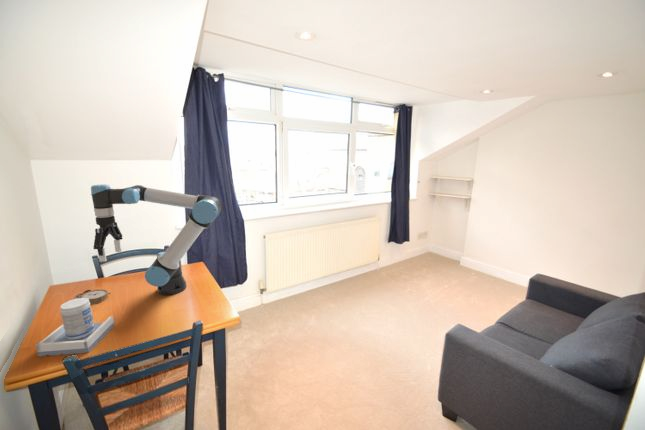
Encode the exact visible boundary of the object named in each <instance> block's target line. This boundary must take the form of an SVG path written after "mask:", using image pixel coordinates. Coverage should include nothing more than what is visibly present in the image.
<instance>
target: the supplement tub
mask: <svg viewBox="0 0 645 430" xmlns="http://www.w3.org/2000/svg"><path fill="white" fill-rule="evenodd" d="M76 298H77V297H76ZM91 305H92V304H90V302H89V299H88V298H77V299H70V300H68V301H66V302H64V303H62V304H60V307H59V308H60V314H61V315H60V316H61V319H62V324H63V325H64V330H65V335H66V338H67V339H69V340H76V339H80V338H83V337H86V336H88V335H89V334H91V333H92V332H93V331H94V329H95V328H94V323H95V322H94V318H93V317H94V316H93V312H92V306H91Z"/></svg>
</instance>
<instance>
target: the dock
mask: <svg viewBox="0 0 645 430" xmlns="http://www.w3.org/2000/svg"><path fill="white" fill-rule="evenodd" d="M114 327H115V320H114V316H113V315H110V316H109V317H108V318H107V319H106V320H104V322H94V328H95V329H94V331H93V332H92V333H91V334H89V335H88V336H86V337H83V338H80V339H76V340H69V339H67V338H66V335H65V330H64V325H63V323H62V324H61V325H60V326H59V327H57V328H55V330H53V331H52V332H51V333H49V335H47V336H45V338H43V339H42V340H41V341H40V342H38V343H37V344H36V345H35V347H36V348H35V349H36V352H37V356H39V357H47V356H46V355H50V356H51V357H52V356H61V355H60V354H63V355H73V354H74V353H75V354H84V353H85V354H87V353H90V352H91V351H92V350H93V349H94V348H95V347H96V346H97V345H98V344H99V343H100V341H102V339H103V338H105V336H107V334H108V333H109V332H110V331H111V330H112V329H113V328H114ZM75 354H74V355H75Z"/></svg>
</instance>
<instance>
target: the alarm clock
mask: <svg viewBox="0 0 645 430" xmlns="http://www.w3.org/2000/svg"><path fill="white" fill-rule="evenodd" d="M110 294H111V292H109V291H108V290H107V289H102V288H100V289H94V290H93V289H86V290H84V291H83V292H81V293H79V294H77V295H74V297H73V298H74V299H77V298H88V299H89V302H90V305H96V304H99V303H102V302H105V301H106V300H107V299H108V298H109V295H110Z"/></svg>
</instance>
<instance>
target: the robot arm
mask: <svg viewBox="0 0 645 430" xmlns="http://www.w3.org/2000/svg"><path fill="white" fill-rule="evenodd" d="M90 192H91V193H90V194H91V195H90V196H91V198H92V204H93V212H94V216H95V224H96V225H98V226H99V228H95V229H94V232H95V235H94V240H93V250H97V255H98V260H99V262H100V263H101V262H102V263H103V262H107V261H108V260H107V255H106V254H107V253H106V248H104V247H105V243H106V240H107V237H108V236H109V235H110V236H111V237H112V238H113V239H114V240H113V245H114V251H115V253H122V252H123V250H122V244H121V240H123V234H122V232H121V229H120V228H119V226H118V222H117V221H116V218H115V210H114V205H131V204H132V205H134V204H138V203H139V201H141V202H148V203H154V204H160V205H165V206H166V205H167V206H170V207H171V206H173V207H179V208H183V209H192V210H191V212H190V213H189V214H188V217H187V218H188V221H187V222H186V223H185V225H184V226H183V227H182V229H181V230H180V231H179V232H178V233H177V235H176V237H175V238H174V240H172V242H171V244H170V245H169V246H168V247H167V249H166V250H164V251H160V252H158V253H157V255H156V259H155V260H154V261H153V263H152V264H151V265H150V266H149V267H148V268H147V269H146V271H145V273H144V278H145V281H146V282H147V283H148V284H149V285H151V286H153V287H156V288H157V293H158V294H159V295H162V296H164V295H165V296H167V295H168V296H169V295H175V294H178V293H180V292H183V291H184V290H186V289H187V281H186V279H185V278H184V276H183V269H182V258H184V256H185V255H186V253H187V252H188V251H189V249H190V248H191V246H192V245H193V244H194V243H195V241H196V240H197V238H199V235H200V234H201V233H202V232H203V231H204V229H208V228H209V227H210V226H211V225H212V224H213V223H214V221H215V220H216V219H217V217H218V216H219V215H220V213H221V211H222V210H223V206H222V202H221V201H220V200H219V199H218V198H217V197H216V196H210V195H203V194H197V195H193V194H186V193H181V192H176V191H175V192H174V191H168V190H162V189H157V188H151V187H146V186H144V185H142V184H141V185H139V184H136V185H133V186H129V187H126V188H111V186H110V184H94V185H92V186H91V187H90Z"/></svg>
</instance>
